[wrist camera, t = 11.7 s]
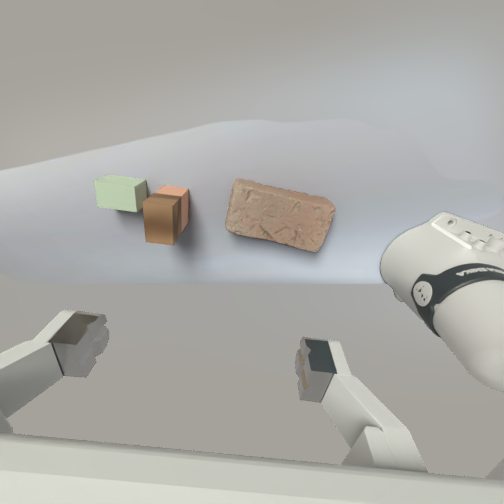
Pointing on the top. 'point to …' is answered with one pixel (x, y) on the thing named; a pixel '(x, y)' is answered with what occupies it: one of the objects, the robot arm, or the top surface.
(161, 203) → the walnut block
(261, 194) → the brick
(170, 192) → the terracotta block
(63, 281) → the top surface
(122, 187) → the sage block
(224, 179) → the top surface
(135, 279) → the top surface
